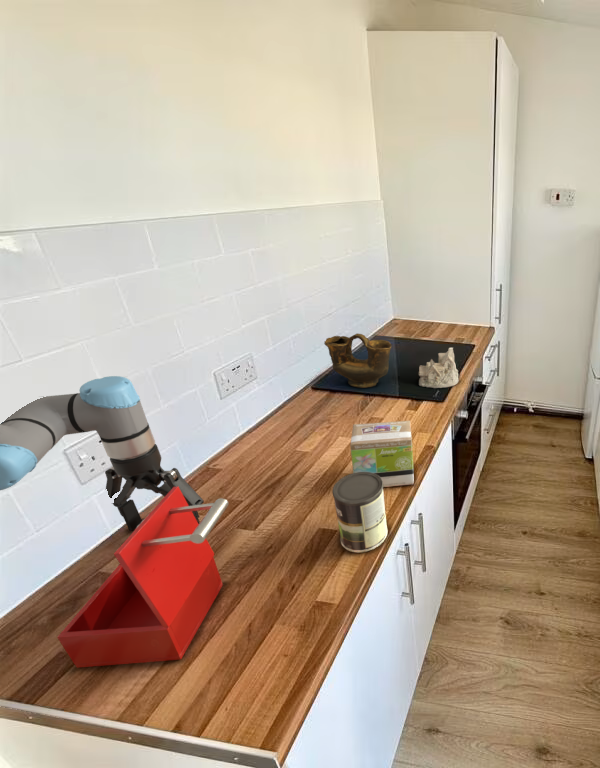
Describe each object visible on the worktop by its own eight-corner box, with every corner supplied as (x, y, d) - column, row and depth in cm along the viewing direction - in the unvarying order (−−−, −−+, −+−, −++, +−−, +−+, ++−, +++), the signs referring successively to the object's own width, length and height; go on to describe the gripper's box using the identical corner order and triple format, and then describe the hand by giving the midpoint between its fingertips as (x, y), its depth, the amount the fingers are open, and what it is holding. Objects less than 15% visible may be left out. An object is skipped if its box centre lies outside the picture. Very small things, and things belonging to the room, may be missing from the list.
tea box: (355, 492, 111) (348, 444, 104) (357, 468, 119) (351, 423, 113) (414, 485, 114) (412, 438, 108) (413, 462, 123) (410, 418, 117)
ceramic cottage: (460, 371, 181) (458, 337, 174) (456, 390, 166) (453, 354, 159) (423, 371, 181) (419, 338, 174) (416, 390, 166) (411, 355, 159)
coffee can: (341, 558, 92) (332, 507, 86) (340, 524, 101) (332, 476, 94) (390, 546, 95) (385, 497, 89) (385, 515, 104) (380, 467, 98)
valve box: (76, 668, 70) (56, 637, 66) (136, 590, 83) (122, 561, 79) (181, 659, 72) (167, 629, 68) (223, 584, 85) (213, 556, 81)
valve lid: (113, 554, 61) (185, 544, 61) (173, 486, 74) (232, 479, 74) (163, 628, 68) (227, 618, 69) (210, 554, 81) (264, 547, 82)
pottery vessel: (324, 385, 163) (317, 336, 154) (337, 374, 173) (331, 326, 164) (389, 391, 162) (385, 341, 153) (398, 379, 171) (395, 331, 163)
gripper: (205, 444, 90) (230, 520, 100) (91, 435, 91) (126, 512, 100) (178, 465, 84) (208, 545, 93) (55, 456, 84) (96, 536, 94)
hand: (165, 528), depth 97 cm, fingers open, 13 cm apart
